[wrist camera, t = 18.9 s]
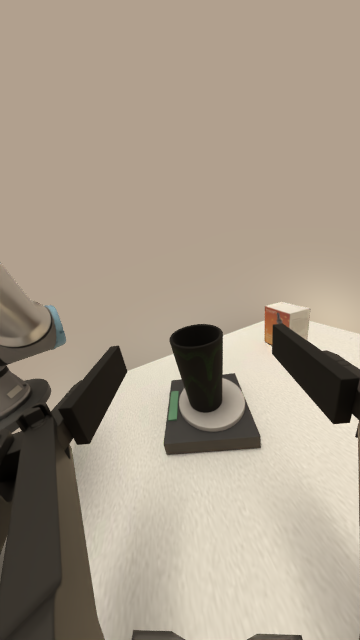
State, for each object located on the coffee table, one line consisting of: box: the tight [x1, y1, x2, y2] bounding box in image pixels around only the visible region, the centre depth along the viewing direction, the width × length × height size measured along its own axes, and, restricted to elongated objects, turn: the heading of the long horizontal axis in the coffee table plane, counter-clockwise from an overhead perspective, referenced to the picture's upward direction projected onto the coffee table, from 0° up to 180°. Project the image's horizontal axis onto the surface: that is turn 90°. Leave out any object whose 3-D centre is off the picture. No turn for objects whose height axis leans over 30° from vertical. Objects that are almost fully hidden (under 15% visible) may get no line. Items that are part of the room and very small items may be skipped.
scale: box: [164, 373, 261, 454], centre depth 29 cm, size 13×13×3 cm
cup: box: [170, 324, 223, 413], centre depth 27 cm, size 8×8×12 cm
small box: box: [265, 302, 310, 345], centre depth 43 cm, size 8×6×10 cm
